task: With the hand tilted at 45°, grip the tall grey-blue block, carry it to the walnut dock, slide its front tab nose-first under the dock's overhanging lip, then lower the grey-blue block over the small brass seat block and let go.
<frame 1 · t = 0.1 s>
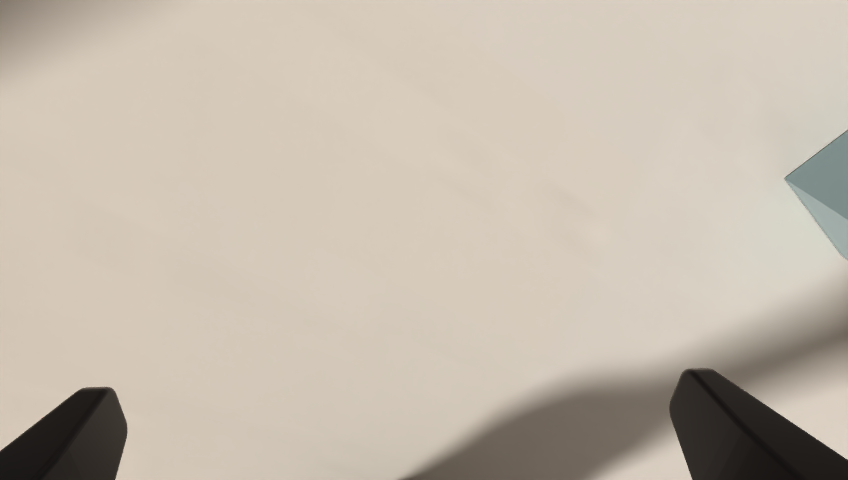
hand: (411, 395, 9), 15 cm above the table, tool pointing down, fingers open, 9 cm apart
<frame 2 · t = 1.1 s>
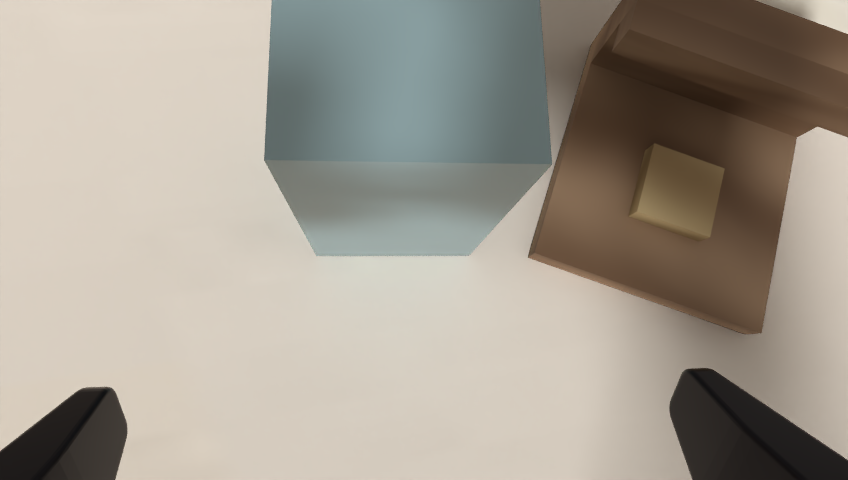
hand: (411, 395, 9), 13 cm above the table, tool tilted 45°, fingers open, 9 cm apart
grey-blue block: (393, 183, 23), on the table
dock: (659, 201, 24), on the table
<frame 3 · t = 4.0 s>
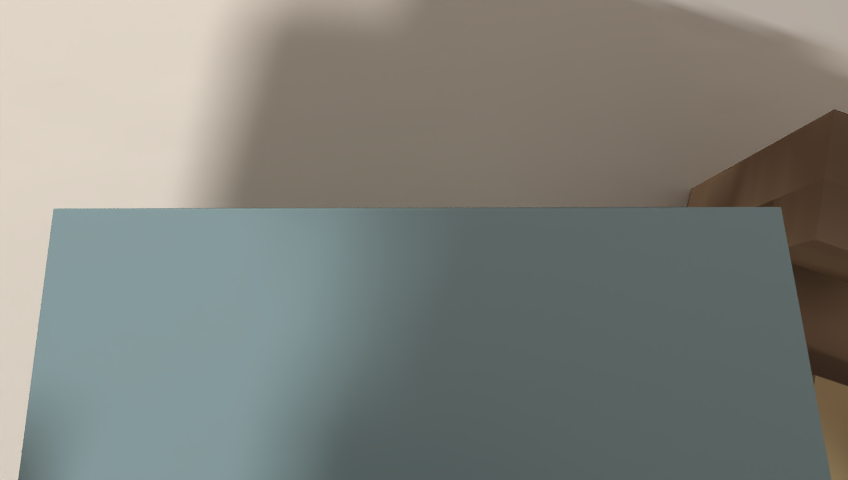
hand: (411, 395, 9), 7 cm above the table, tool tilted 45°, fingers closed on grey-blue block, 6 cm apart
grey-blue block: (396, 435, 15), on the table, touching gripper
dock: (810, 445, 16), on the table
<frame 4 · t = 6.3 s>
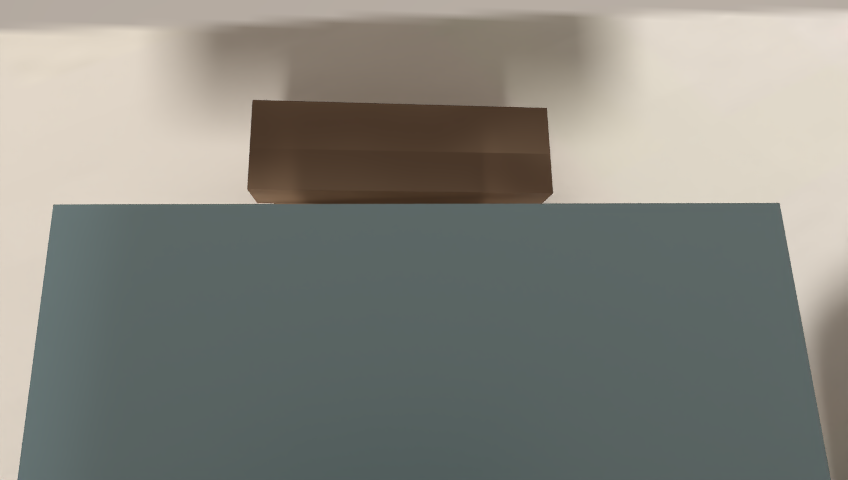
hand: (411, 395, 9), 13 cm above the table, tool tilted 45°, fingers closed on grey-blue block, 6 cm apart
grey-blue block: (396, 434, 15), point 7 cm above the table, touching gripper
dock: (397, 311, 22), on the table
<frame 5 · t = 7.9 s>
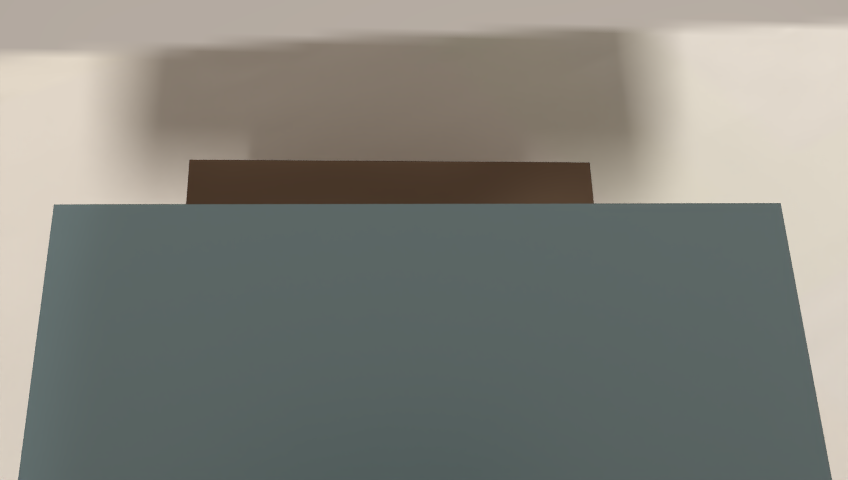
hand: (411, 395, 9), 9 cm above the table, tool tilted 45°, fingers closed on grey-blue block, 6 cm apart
grey-blue block: (396, 434, 15), point 3 cm above the table, touching gripper
dock: (392, 414, 17), on the table
when the fingers open (8 cm above the table, at t = 8.8 s): grey-blue block stays where it is, resting on dock.
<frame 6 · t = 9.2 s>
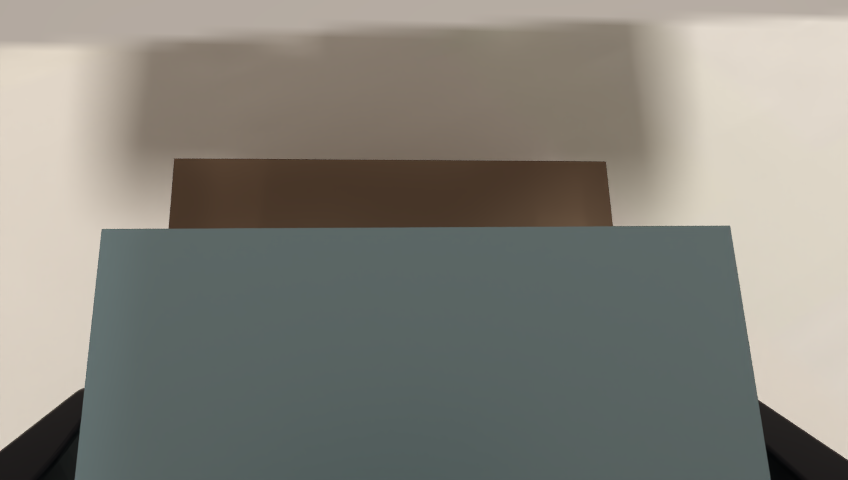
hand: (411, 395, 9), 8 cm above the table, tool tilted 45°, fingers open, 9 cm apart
grey-blue block: (395, 431, 15), point 1 cm above the table, touching dock
dock: (393, 427, 16), on the table
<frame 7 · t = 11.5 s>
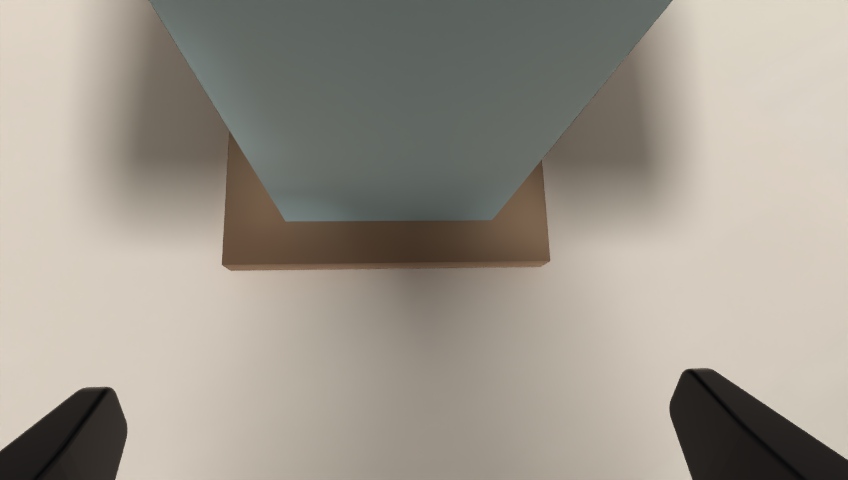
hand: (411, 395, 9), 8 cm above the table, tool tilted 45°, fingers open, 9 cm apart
grey-blue block: (389, 125, 17), point 1 cm above the table, touching dock
dock: (387, 138, 18), on the table
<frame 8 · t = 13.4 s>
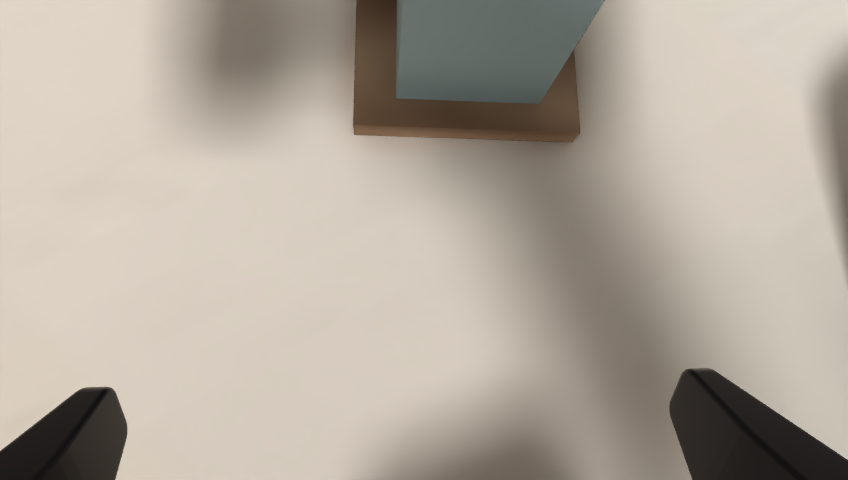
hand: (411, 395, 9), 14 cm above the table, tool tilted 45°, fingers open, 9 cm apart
grey-blue block: (466, 36, 25), point 1 cm above the table, touching dock
dock: (463, 49, 25), on the table
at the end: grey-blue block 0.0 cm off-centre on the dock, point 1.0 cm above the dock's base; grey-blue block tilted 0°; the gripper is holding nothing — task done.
